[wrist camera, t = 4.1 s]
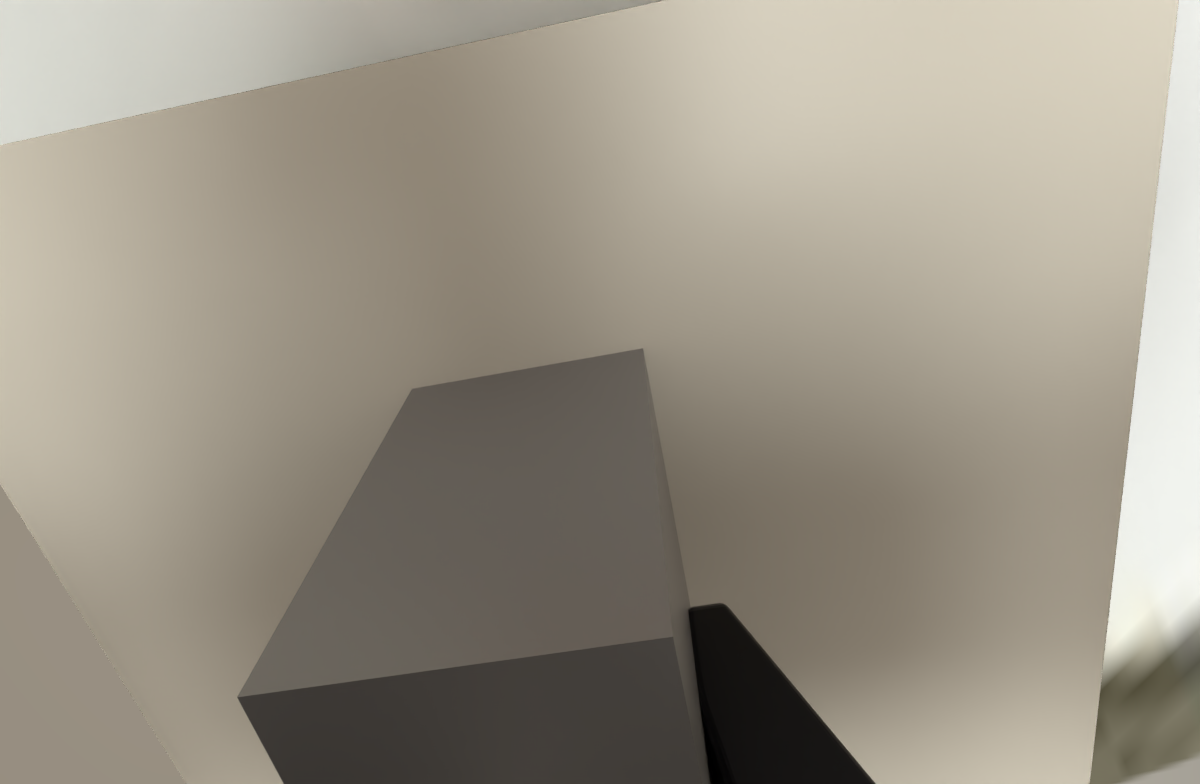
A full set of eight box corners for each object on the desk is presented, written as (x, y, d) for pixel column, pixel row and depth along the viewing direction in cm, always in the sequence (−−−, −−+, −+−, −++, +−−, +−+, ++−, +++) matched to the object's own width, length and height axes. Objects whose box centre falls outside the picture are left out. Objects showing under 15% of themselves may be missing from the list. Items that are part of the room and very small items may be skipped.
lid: (1057, 826, 11) (1316, 1283, 7) (302, 908, 12) (147, 1347, 8) (1141, -101, 6) (2145, -364, 2) (-127, 174, 7) (-1048, 348, 3)
